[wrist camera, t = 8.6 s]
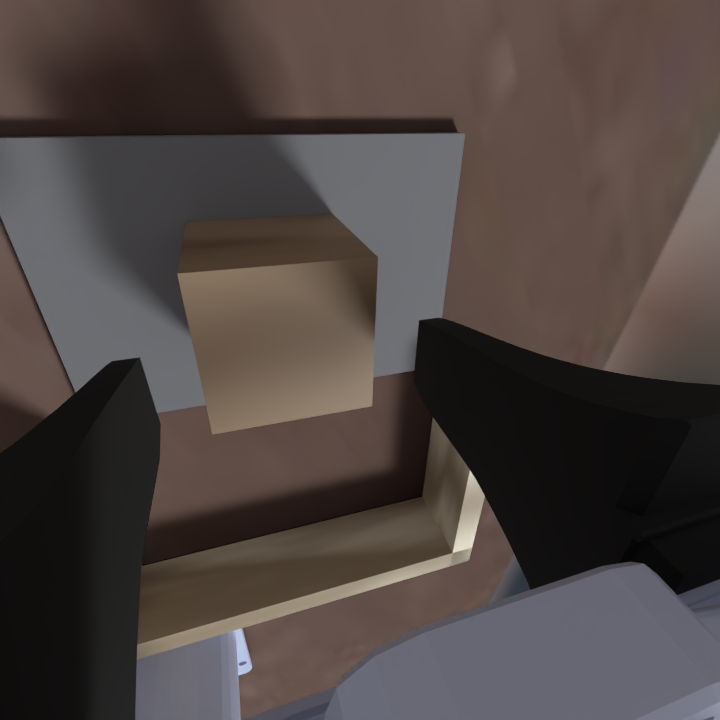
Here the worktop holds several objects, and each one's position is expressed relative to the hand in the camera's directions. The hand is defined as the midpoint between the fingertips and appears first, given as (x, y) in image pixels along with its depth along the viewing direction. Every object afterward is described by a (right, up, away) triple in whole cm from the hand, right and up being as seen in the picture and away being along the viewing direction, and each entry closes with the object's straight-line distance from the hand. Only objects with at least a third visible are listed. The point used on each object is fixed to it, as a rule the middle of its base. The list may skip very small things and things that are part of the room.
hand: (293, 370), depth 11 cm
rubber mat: (-2, +3, +5) cm, 6 cm away
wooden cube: (-2, +3, +5) cm, 6 cm away
